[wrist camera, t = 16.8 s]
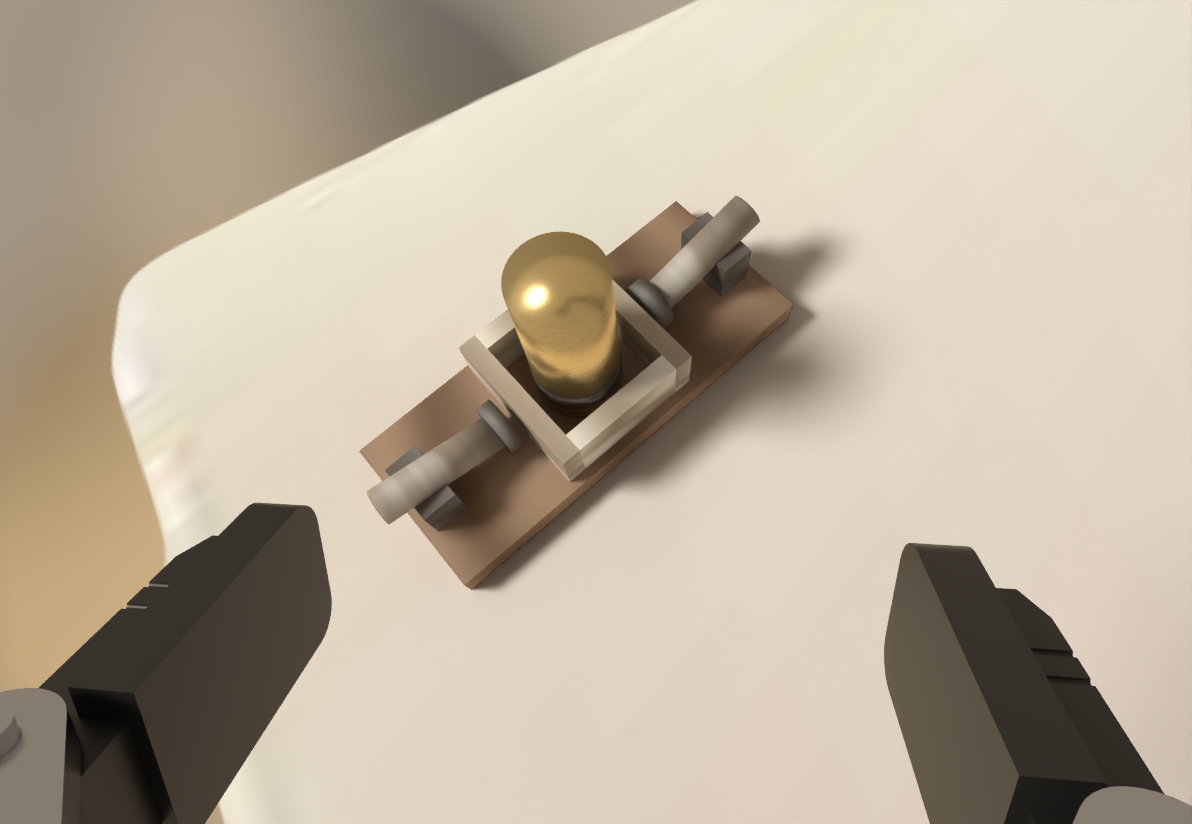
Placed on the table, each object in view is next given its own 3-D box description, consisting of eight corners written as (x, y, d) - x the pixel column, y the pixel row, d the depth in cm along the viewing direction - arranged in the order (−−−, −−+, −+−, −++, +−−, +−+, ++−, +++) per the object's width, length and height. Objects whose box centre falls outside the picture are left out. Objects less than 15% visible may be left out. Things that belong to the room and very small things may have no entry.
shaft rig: (685, 208, 45) (689, 143, 39) (799, 308, 42) (819, 252, 37) (356, 469, 40) (312, 435, 35) (458, 600, 38) (426, 584, 32)
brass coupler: (584, 323, 41) (563, 211, 31) (641, 381, 39) (636, 281, 30) (519, 376, 40) (477, 276, 31) (574, 436, 39) (548, 351, 29)
